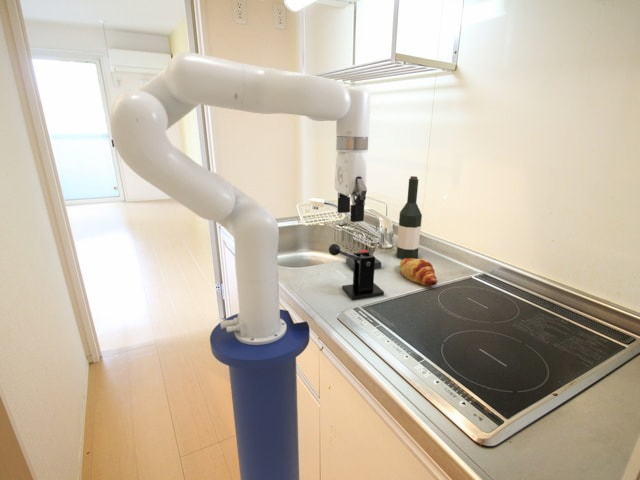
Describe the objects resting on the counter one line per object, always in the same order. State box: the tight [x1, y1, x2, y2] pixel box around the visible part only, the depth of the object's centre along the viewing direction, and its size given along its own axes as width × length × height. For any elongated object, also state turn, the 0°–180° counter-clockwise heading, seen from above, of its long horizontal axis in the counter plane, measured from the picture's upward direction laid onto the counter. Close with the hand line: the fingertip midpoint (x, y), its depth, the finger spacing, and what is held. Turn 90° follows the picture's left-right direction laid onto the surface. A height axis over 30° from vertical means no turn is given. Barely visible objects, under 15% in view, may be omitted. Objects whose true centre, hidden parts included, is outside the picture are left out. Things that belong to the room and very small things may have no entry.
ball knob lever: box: [328, 243, 366, 263], centre depth 101 cm, size 13×3×3 cm, turn 111°
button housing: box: [345, 252, 382, 271], centre depth 127 cm, size 10×8×4 cm
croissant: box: [399, 258, 438, 287], centre depth 118 cm, size 21×10×8 cm, turn 21°
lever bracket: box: [341, 251, 385, 301], centre depth 105 cm, size 10×8×12 cm
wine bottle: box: [396, 175, 423, 260], centre depth 133 cm, size 8×8×30 cm
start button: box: [358, 249, 370, 253], centre depth 126 cm, size 4×4×2 cm
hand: (350, 216), depth 91 cm, fingers open, 9 cm apart
